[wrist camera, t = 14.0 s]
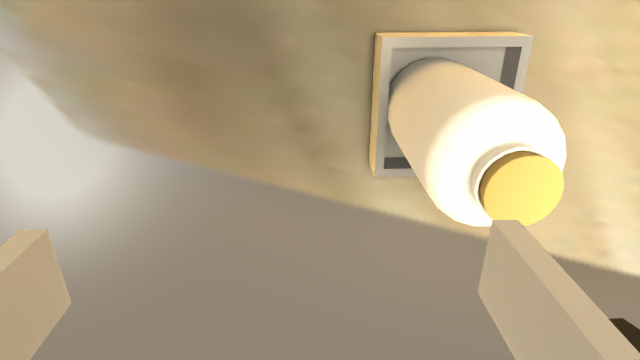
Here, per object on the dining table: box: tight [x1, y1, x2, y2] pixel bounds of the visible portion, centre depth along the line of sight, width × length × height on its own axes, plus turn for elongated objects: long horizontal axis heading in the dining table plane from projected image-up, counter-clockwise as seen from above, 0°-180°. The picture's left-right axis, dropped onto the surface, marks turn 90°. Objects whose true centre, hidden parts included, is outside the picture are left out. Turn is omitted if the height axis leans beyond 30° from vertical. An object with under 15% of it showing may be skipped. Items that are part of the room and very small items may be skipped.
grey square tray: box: [369, 32, 534, 177], centre depth 36 cm, size 12×12×4 cm
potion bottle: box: [387, 58, 566, 226], centre depth 29 cm, size 8×8×18 cm
